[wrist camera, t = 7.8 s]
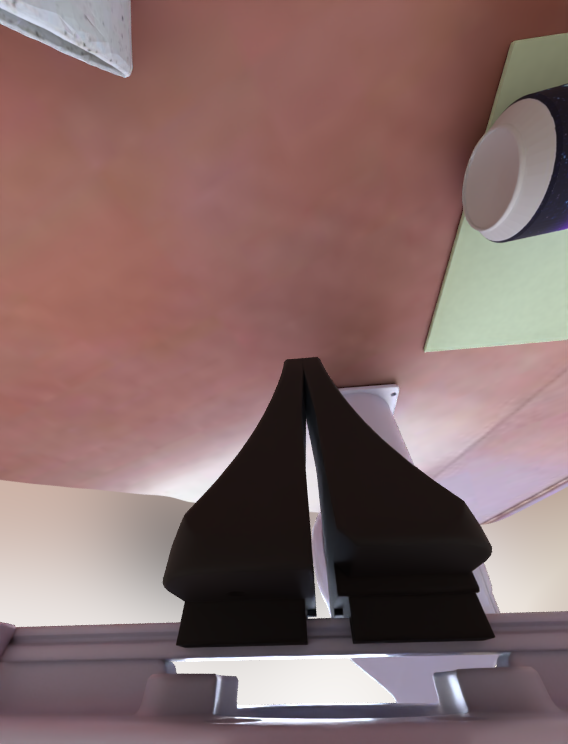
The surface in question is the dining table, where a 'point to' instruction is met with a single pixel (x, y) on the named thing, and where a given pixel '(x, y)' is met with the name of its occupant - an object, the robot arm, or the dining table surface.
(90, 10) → the white cylinder
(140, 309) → the dining table surface
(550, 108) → the beverage can
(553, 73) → the mat
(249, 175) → the dining table surface
